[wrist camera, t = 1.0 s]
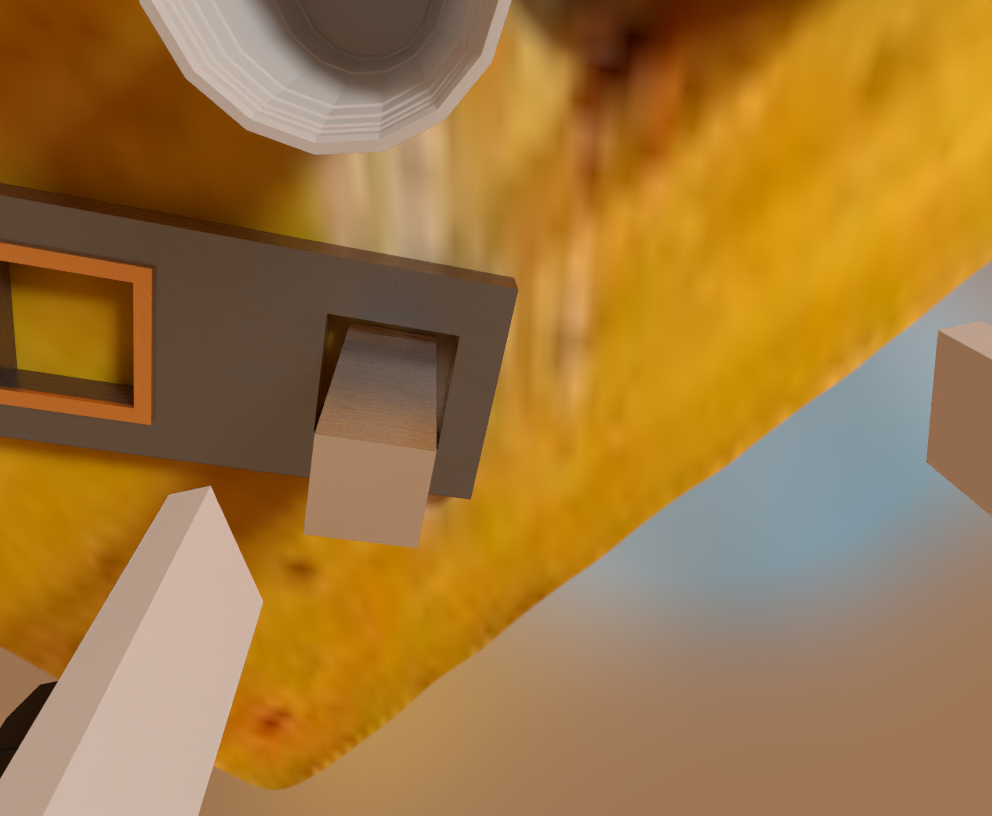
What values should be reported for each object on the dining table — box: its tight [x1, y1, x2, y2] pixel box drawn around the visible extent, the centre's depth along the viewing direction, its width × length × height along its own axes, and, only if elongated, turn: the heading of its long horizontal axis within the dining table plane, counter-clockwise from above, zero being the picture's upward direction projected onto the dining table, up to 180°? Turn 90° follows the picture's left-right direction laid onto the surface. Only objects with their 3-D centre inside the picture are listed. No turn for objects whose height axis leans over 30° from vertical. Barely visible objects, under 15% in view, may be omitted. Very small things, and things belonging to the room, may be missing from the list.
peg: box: [303, 323, 436, 548], centre depth 32 cm, size 4×4×12 cm
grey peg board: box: [0, 183, 518, 499], centre depth 35 cm, size 26×12×2 cm, turn 78°
